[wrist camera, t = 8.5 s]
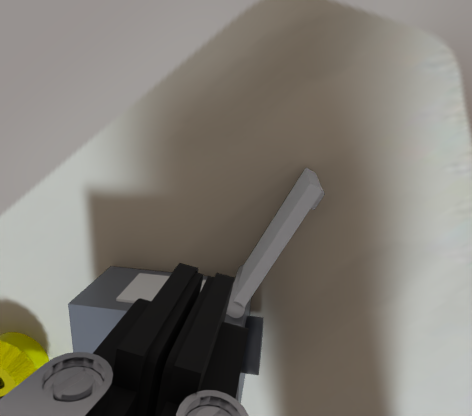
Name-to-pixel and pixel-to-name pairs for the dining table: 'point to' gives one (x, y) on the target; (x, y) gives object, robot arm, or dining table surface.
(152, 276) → the camera case
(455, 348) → the dining table surface
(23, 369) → the gear
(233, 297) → the side door
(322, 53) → the dining table surface
